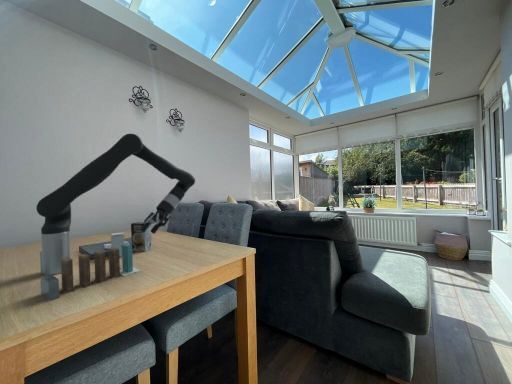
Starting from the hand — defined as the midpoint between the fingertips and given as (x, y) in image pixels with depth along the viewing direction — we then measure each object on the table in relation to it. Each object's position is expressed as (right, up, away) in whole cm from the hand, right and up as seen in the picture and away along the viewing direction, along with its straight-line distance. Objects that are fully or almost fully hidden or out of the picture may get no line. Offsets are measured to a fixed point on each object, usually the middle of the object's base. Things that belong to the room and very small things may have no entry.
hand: (147, 231), depth 101 cm
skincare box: (-24, -16, +17) cm, 34 cm away
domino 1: (-16, -16, -24) cm, 33 cm away
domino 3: (-10, -16, -16) cm, 25 cm away
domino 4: (-7, -16, -11) cm, 21 cm away
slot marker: (-5, -16, -7) cm, 18 cm away
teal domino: (-5, -15, -7) cm, 18 cm away
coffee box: (-17, -16, +29) cm, 37 cm away
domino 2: (-13, -16, -20) cm, 29 cm away
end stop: (-18, -16, -28) cm, 37 cm away
